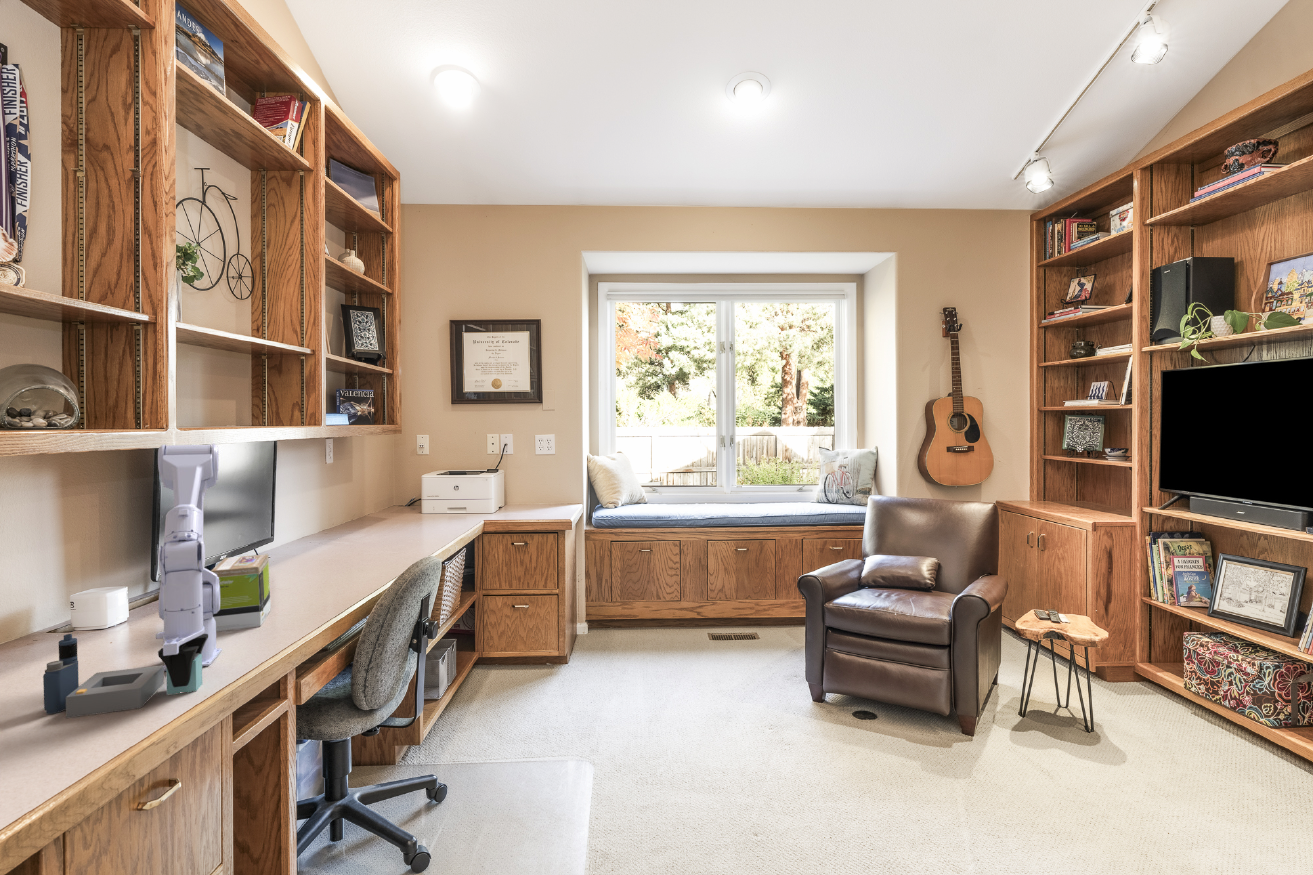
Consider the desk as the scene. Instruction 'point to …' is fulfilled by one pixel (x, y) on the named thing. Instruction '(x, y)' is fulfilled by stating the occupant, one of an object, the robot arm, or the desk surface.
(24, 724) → the desk surface
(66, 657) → the vaping device
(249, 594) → the tea box
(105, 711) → the socket
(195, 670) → the plug
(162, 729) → the desk surface
